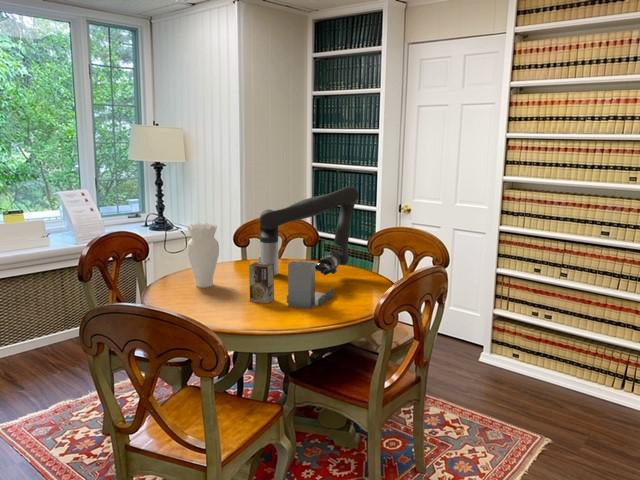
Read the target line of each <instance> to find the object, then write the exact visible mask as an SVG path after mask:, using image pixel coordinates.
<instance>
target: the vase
mask: <svg viewBox="0 0 640 480" xmlns="http://www.w3.org/2000/svg"><path fill="white" fill-rule="evenodd" d="M217 229H218V226H217V225H216V224H215V223H211V224H210V223H208V222H206V223H204V224H202V223H200V222H197V223H194V224H189V225H188V226H187V230H188V232H189V235H190V237H191V238H190V239H189V240H188V242H187V248H186V251H187V257H188V260H189V263H190V266H191V269H192V272H193V275H194V278H195V286H196V287H197V286H199V287H198V288H210V287H213V286H214V275H215V271H216V266H217V264H218V259H219V254H220V245H219V241H218V239H216V238H215V235H216V232H217V231H216V230H217ZM209 286H210V287H209Z"/></svg>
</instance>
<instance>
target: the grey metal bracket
mask: <svg viewBox="0 0 640 480" xmlns="http://www.w3.org/2000/svg"><path fill="white" fill-rule="evenodd" d="M316 264H317V261H312V260H311V261H309V260H299V261H295V260H294V261H293V260H292V261H290V262H288V263H287V290H288V291H287V293H288V294H287V296H286V303H287V304H288V305H287V307H288V308H295V309H296V308H297V309H306V310H312V309H313V308H314V307H322V306H324V305H325V304H326V303H327V302H328V301H329V300H331V298H332V297H334V296H335V288H334V287H333V288H331V289H329V290H327V292H319V291H316V272H315V270H316V269H315V265H316Z"/></svg>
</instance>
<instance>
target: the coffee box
mask: <svg viewBox="0 0 640 480" xmlns="http://www.w3.org/2000/svg"><path fill="white" fill-rule="evenodd" d="M248 273H249V274H248V278H249V279H248V281H249V302H253V303H254V302H255V303H263V304H264V303H265V304H270V303H271V302H273V301H274V300H275V276H274V264H271V263H259V261H258V262H257V261H255V262H253V263H251V264H249V265H248Z"/></svg>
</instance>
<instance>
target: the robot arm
mask: <svg viewBox="0 0 640 480" xmlns="http://www.w3.org/2000/svg"><path fill="white" fill-rule="evenodd" d="M358 200H359V191H358V190H357V189H356V188H355V187H354V186H350V185H349V186H345V187H342V188H341V189H338V190H335V191H333V192H330V193H326V194H322V195H317V196H312V197H309V198H305V199H302V200H299V201H297V202H294V203H293V204H291V205H289V206H287V207H284V208H279V209H276V210H274V209H273V210H272V209H265V210H263V211H262V212H261V214H260V216H259V250H260V251H259V252H260V253H259V254H260V255H259V256H258V263H271V264H274V277H276V276H278V275H279V226H281V225H285V224H287V223H291V222H294V221H296V222H297V221H300V220H305V219H307V218H312V217H314V216H318V215H320V214H323V213H325V212H327V211H328V210H330V209H333V208H336V207H339V214H338V215H339V216H338V220H337V225H336V229H335V235H334V240H333V241H334V245H336V246H338V247H340V248H341V250H337V249H331V250H330V251H329V252H328V253H327V255H326V256H324V257H322V258H320V259H319V260H318V261H317V262H316V265H315V273H317V272H318V273H321V274H323V276H327V275H330V274H332V275H334V274H336V273H337V272H338V266H346V265H347V264H348V263H349V261H350V255H349V240H350V233H351V226H352V225H351V222H352V216H353V210H354V208H355V204H356V203H357V201H358Z"/></svg>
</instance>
